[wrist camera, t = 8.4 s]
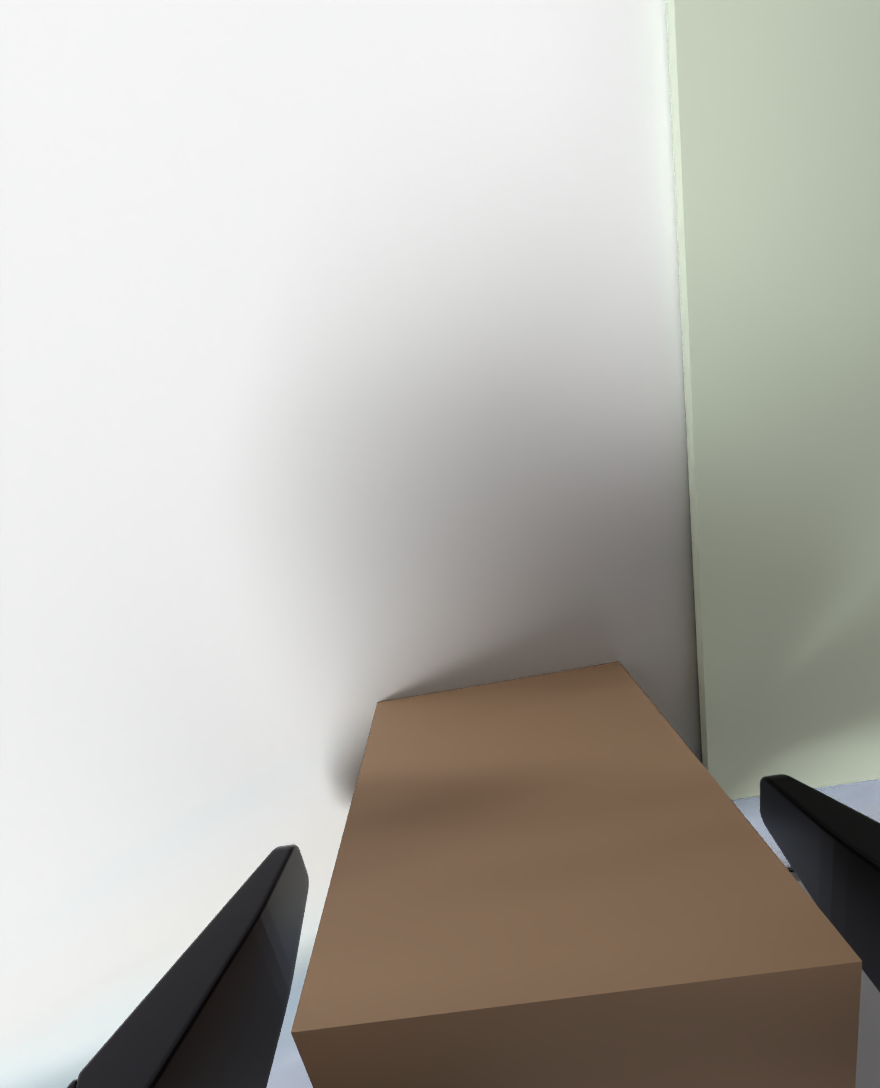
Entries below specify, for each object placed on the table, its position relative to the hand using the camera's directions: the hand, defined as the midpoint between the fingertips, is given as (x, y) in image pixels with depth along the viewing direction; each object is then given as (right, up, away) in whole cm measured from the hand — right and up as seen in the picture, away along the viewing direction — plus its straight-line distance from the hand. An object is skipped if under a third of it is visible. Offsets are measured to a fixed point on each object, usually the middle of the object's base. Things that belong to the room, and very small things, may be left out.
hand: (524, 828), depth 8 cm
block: (0, 0, +1) cm, 1 cm away
